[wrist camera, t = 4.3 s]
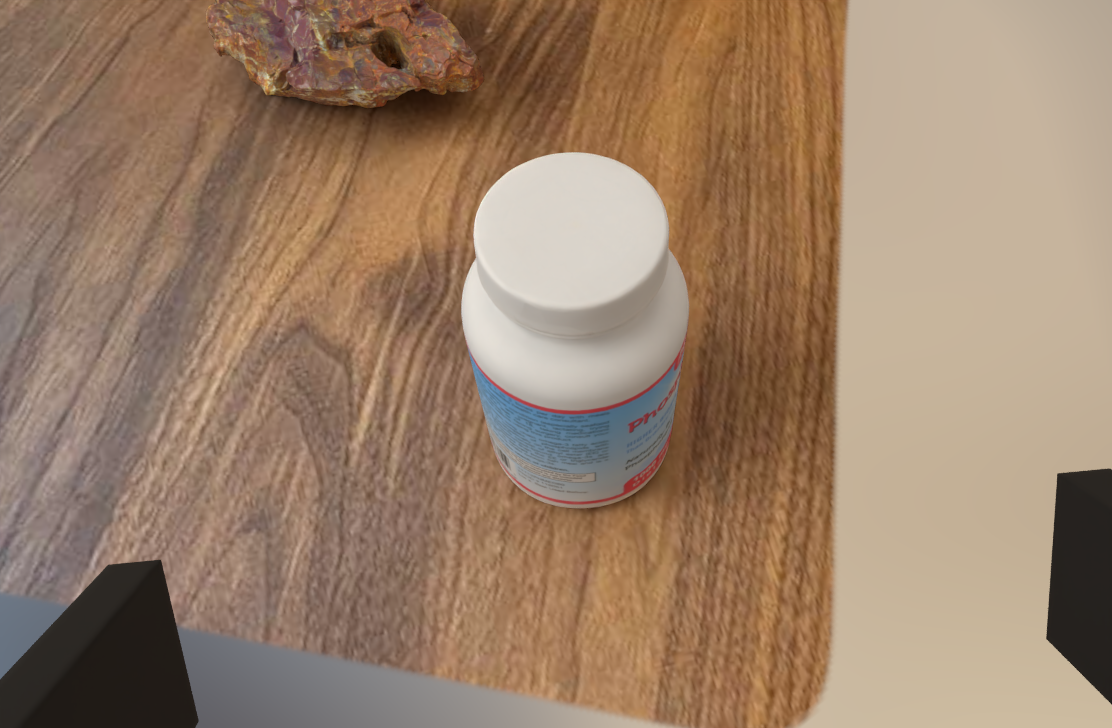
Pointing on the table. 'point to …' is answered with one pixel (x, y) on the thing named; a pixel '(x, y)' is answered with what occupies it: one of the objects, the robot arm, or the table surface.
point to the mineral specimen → (344, 48)
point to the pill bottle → (576, 327)
